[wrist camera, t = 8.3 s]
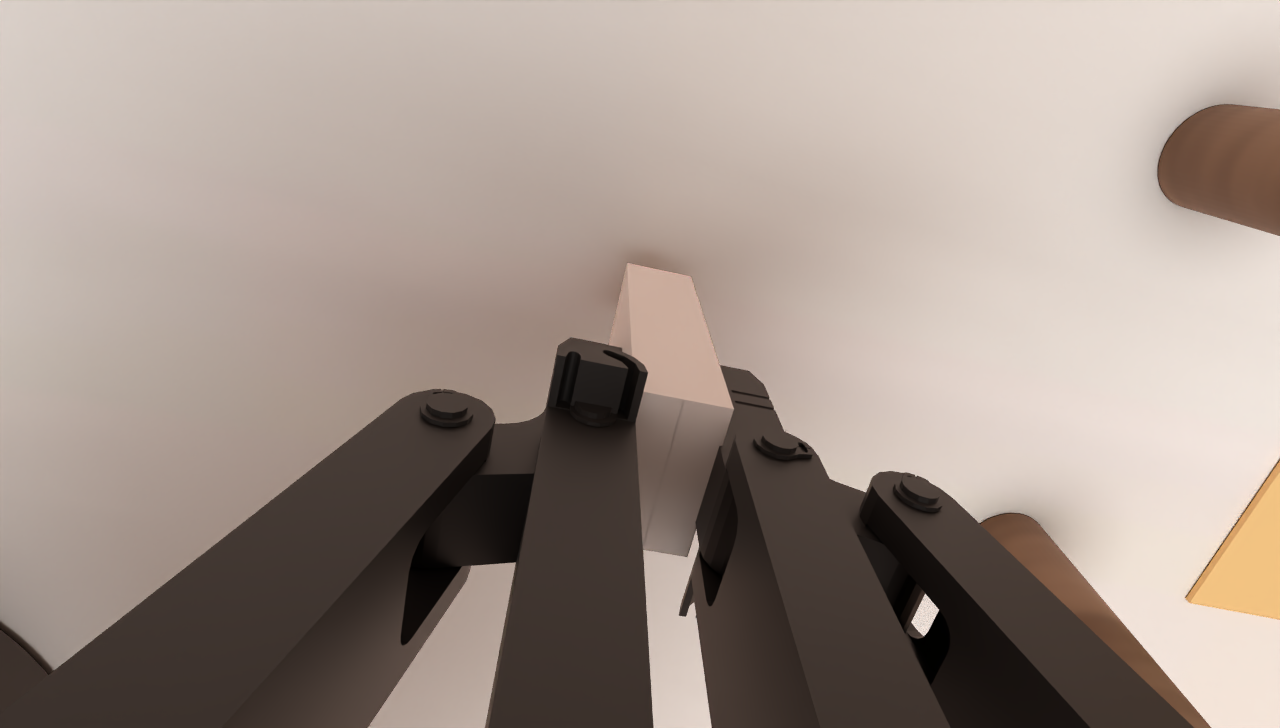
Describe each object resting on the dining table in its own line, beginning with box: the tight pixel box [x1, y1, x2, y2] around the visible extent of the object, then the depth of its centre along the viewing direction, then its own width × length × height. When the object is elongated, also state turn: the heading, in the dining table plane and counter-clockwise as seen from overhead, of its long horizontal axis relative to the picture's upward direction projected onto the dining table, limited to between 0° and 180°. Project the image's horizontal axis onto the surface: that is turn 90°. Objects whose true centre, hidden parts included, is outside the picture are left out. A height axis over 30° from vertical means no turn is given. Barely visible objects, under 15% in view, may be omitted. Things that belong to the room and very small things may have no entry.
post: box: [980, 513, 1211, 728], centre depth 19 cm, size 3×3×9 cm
